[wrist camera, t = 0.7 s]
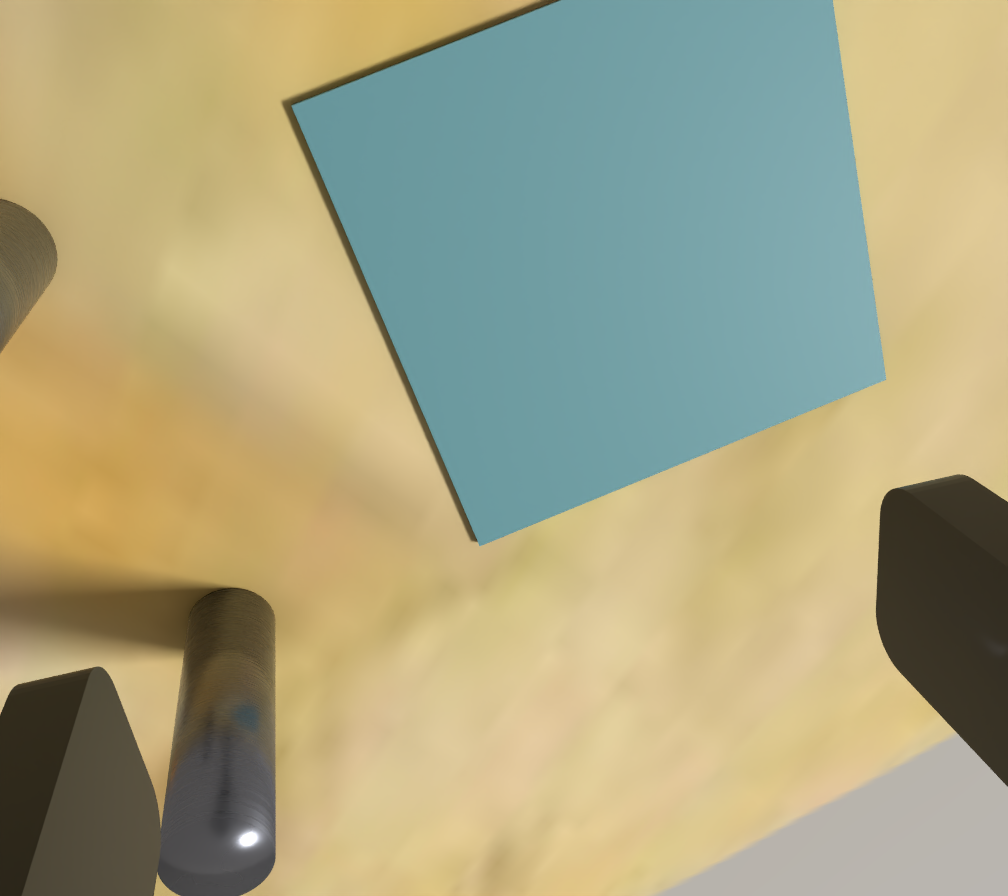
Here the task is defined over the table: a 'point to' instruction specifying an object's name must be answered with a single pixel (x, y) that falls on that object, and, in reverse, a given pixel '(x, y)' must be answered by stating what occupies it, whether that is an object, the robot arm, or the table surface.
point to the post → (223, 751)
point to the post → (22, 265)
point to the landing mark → (607, 238)
